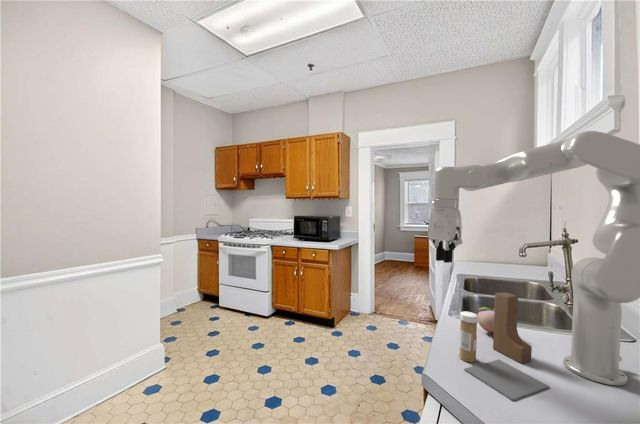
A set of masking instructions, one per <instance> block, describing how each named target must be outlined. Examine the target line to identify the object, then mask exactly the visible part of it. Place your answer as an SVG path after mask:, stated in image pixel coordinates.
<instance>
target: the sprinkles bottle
mask: <svg viewBox="0 0 640 424" xmlns="http://www.w3.org/2000/svg"><path fill="white" fill-rule="evenodd" d="M459 314H460V316H459V318H460V319H459V320H460V329H459V355H458V356H459V358H460V359H461V360H462V361H464V362H467V363H474V362H476V361H477V341H478V339H477V337H478V336H477V331H478V330H477V325H478V316H477V315H478V314H476V313H475V312H471V311H460V313H459Z"/></svg>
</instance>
